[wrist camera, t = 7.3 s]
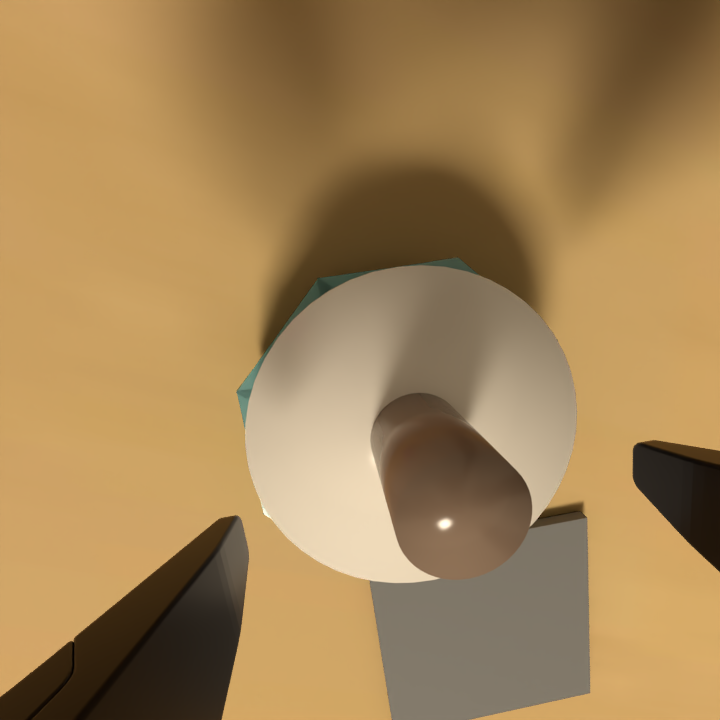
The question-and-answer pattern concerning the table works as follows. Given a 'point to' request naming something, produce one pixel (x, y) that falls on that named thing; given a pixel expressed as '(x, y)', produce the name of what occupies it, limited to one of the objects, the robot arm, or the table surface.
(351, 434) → the lid
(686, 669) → the table surface
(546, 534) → the mat
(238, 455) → the table surface
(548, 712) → the table surface
